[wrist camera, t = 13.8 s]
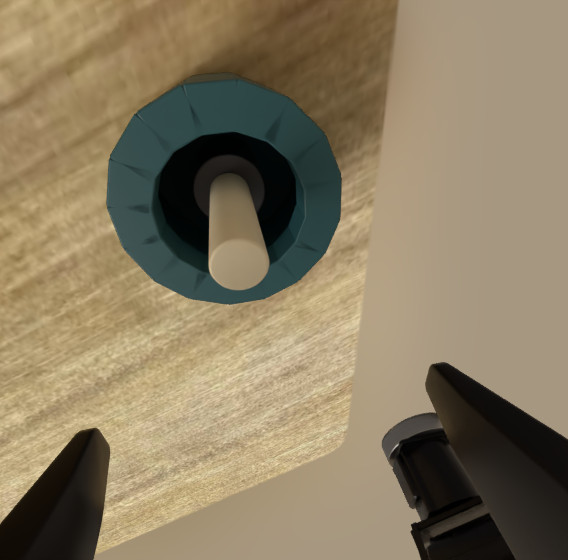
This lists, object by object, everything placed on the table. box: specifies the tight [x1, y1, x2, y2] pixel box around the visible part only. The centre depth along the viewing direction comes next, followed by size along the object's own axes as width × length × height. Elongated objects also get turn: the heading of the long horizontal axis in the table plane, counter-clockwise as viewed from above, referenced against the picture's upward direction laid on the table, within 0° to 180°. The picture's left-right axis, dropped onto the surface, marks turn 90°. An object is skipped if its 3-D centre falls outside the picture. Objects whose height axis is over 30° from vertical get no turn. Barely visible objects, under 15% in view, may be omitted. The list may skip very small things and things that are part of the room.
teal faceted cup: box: [106, 72, 342, 305], centre depth 14 cm, size 8×8×7 cm
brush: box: [192, 135, 269, 290], centre depth 13 cm, size 3×3×10 cm
